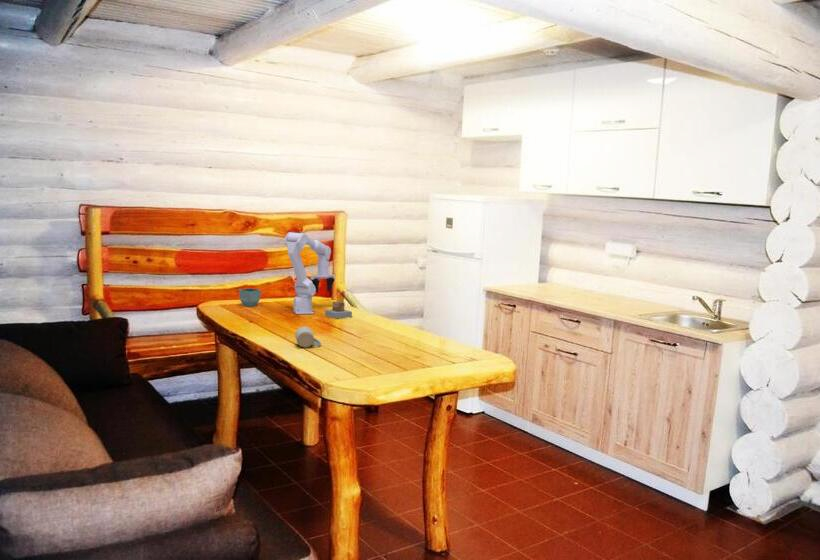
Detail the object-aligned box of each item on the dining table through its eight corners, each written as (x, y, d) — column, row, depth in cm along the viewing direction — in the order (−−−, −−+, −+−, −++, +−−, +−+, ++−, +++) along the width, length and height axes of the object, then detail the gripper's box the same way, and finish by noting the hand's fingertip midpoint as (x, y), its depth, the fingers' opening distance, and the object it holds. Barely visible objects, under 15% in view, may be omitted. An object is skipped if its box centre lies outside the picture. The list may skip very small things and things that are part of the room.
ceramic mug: (296, 348, 284) (297, 330, 283) (294, 344, 292) (295, 326, 291) (322, 348, 287) (322, 330, 285) (319, 343, 294) (320, 326, 293)
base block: (335, 319, 349) (335, 313, 348) (325, 315, 356) (325, 310, 356) (351, 317, 355) (351, 311, 355) (341, 314, 363) (341, 308, 362)
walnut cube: (337, 311, 352) (337, 303, 352) (332, 310, 356) (332, 301, 355) (344, 311, 355) (344, 302, 354) (339, 309, 359) (339, 301, 358)
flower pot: (261, 305, 378) (261, 289, 376) (249, 307, 370) (250, 291, 369) (250, 303, 382) (250, 288, 381) (238, 305, 375) (238, 289, 374)
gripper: (315, 268, 365) (315, 293, 367) (338, 267, 374) (337, 291, 376) (308, 267, 371) (308, 291, 373) (331, 266, 380) (330, 290, 382)
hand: (322, 291), depth 375 cm, fingers open, 7 cm apart
